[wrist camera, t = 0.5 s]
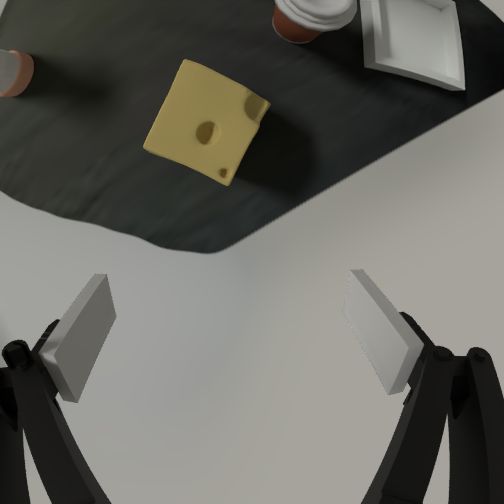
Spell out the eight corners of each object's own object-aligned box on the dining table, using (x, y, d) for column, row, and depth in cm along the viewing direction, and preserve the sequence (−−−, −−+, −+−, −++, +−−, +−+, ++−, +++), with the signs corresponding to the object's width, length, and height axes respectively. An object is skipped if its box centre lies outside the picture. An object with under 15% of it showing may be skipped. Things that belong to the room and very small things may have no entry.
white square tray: (357, -24, 27) (366, -34, 24) (442, 6, 28) (454, 2, 25) (364, 67, 33) (375, 62, 30) (451, 90, 35) (465, 90, 31)
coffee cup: (340, 24, 31) (378, -6, 20) (303, 65, 33) (334, 41, 22) (287, -13, 28) (308, -55, 17) (247, 26, 31) (256, -12, 20)
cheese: (266, 107, 35) (279, 99, 26) (228, 179, 39) (228, 194, 29) (194, 73, 33) (184, 54, 24) (157, 146, 36) (134, 151, 27)
